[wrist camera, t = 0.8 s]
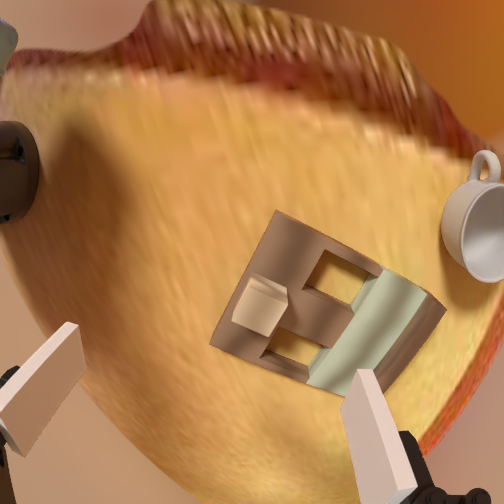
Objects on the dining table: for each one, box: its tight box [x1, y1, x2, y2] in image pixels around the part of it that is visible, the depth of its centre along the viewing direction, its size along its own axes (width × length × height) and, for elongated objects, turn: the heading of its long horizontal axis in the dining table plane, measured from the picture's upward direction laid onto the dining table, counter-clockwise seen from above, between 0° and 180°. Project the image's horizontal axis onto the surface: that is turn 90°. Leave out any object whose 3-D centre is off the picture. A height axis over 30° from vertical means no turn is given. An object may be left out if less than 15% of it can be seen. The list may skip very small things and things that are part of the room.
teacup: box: [441, 150, 504, 283], centre depth 27 cm, size 14×11×8 cm
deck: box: [210, 210, 447, 397], centre depth 33 cm, size 22×17×5 cm
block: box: [231, 272, 288, 337], centre depth 31 cm, size 4×4×4 cm
